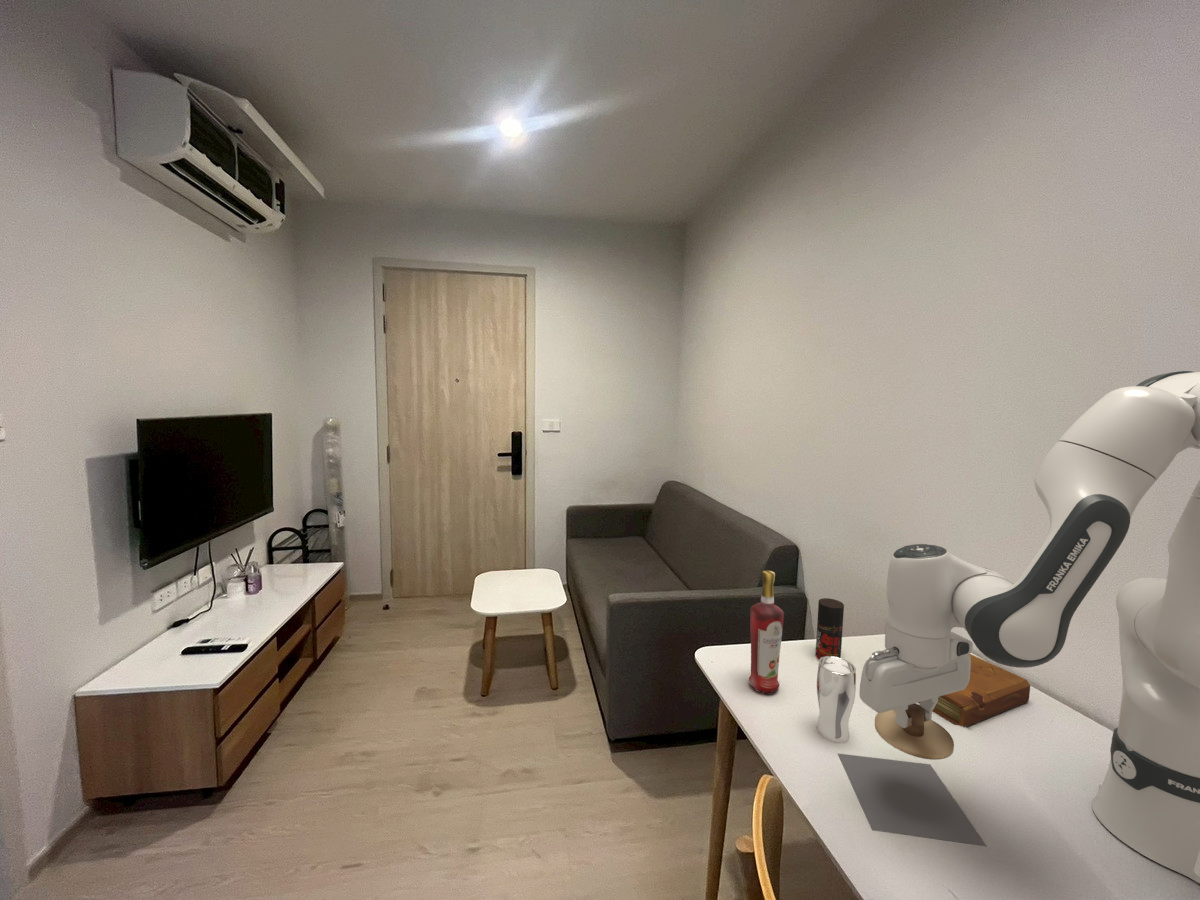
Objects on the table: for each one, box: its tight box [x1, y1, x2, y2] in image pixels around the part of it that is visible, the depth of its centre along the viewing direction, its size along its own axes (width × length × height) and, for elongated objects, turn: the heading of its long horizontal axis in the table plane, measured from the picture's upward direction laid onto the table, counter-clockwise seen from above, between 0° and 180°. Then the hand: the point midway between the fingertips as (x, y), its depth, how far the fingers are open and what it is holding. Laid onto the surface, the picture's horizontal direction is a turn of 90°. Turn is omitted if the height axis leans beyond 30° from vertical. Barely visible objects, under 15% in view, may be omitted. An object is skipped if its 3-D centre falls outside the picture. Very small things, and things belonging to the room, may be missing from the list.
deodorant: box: [815, 597, 845, 661], centre depth 122 cm, size 6×6×15 cm
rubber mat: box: [837, 753, 987, 847], centre depth 79 cm, size 16×16×1 cm
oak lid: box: [874, 703, 955, 761], centre depth 78 cm, size 11×11×5 cm
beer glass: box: [816, 656, 857, 744], centre depth 94 cm, size 7×7×15 cm
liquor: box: [748, 570, 785, 694], centre depth 108 cm, size 7×7×28 cm
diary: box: [917, 653, 1031, 728], centre depth 109 cm, size 23×19×6 cm
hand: (913, 722), depth 78 cm, fingers closed on oak lid, 3 cm apart
